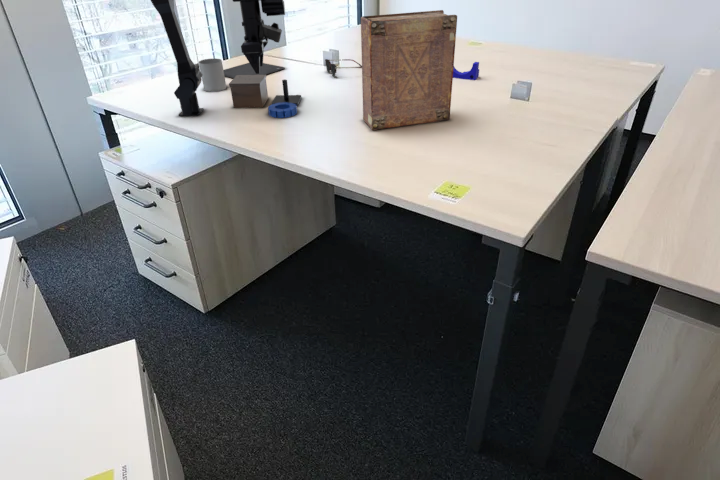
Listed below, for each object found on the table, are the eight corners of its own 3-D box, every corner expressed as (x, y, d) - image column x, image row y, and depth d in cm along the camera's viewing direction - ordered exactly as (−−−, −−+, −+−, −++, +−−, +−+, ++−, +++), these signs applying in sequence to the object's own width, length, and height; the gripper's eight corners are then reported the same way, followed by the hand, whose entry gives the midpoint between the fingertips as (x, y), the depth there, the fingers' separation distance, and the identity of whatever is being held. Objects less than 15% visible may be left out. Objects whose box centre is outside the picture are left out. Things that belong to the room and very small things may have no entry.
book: (437, 111, 156) (444, 9, 139) (449, 120, 148) (458, 14, 132) (362, 120, 150) (360, 16, 133) (371, 130, 143) (370, 21, 126)
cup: (220, 92, 179) (215, 64, 173) (200, 91, 180) (194, 63, 175) (230, 85, 186) (225, 58, 180) (210, 84, 187) (205, 58, 182)
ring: (294, 117, 154) (294, 111, 152) (266, 118, 154) (265, 111, 153) (298, 108, 161) (298, 101, 160) (271, 108, 162) (271, 102, 160)
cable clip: (478, 77, 187) (480, 61, 184) (475, 80, 184) (476, 64, 181) (449, 73, 192) (450, 58, 189) (445, 76, 189) (446, 61, 185)
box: (263, 107, 163) (259, 83, 158) (232, 108, 163) (228, 83, 159) (269, 98, 171) (266, 74, 167) (240, 98, 172) (236, 75, 167)
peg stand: (297, 106, 163) (295, 83, 159) (271, 106, 163) (268, 84, 159) (301, 98, 170) (299, 76, 166) (276, 98, 171) (273, 76, 166)
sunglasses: (325, 70, 201) (324, 58, 198) (360, 68, 206) (361, 56, 203) (335, 79, 190) (335, 66, 187) (372, 76, 195) (373, 64, 192)
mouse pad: (245, 81, 190) (245, 80, 190) (213, 73, 200) (212, 72, 200) (286, 68, 205) (286, 67, 205) (254, 62, 215) (253, 61, 215)
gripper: (275, 21, 138) (282, 76, 147) (280, 10, 154) (286, 61, 162) (236, 23, 138) (245, 78, 146) (245, 12, 153) (253, 63, 162)
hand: (259, 69), depth 154 cm, fingers open, 9 cm apart
